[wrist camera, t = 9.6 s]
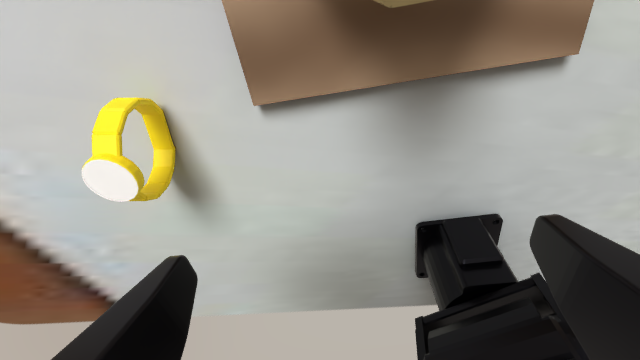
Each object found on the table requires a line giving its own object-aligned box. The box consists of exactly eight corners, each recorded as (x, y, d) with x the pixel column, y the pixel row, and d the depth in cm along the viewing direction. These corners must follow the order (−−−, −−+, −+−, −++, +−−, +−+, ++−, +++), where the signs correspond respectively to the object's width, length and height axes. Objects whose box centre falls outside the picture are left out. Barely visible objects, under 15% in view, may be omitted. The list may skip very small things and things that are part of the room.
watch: (192, 163, 22) (158, 225, 18) (154, 164, 22) (110, 224, 18) (165, 83, 19) (113, 134, 14) (119, 83, 19) (52, 134, 14)
